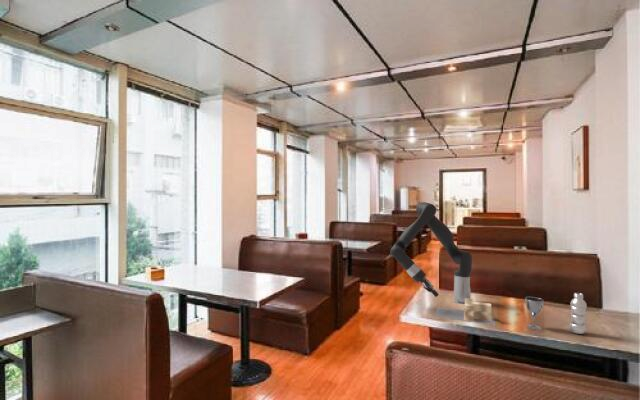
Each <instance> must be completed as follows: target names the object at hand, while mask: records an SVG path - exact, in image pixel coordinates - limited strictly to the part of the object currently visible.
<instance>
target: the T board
mask: <svg viewBox="0 0 640 400" xmlns="http://www.w3.org/2000/svg"><path fill="white" fill-rule="evenodd" d="M434 317H435V318H443V319H448V320H453V321H454V320H456V321H461V322H469V323H474V324H475V323H476V324H481V325H482V324H483V325H489V326H497V325H496V322H495V318H494V315H493V314H492V313H491V321H490V320H483V319H476V318H473V321H469V320H465V309H463V310H462V309H456V308H449V307H441V306H437V307H436V310H435V316H434Z"/></svg>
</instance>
